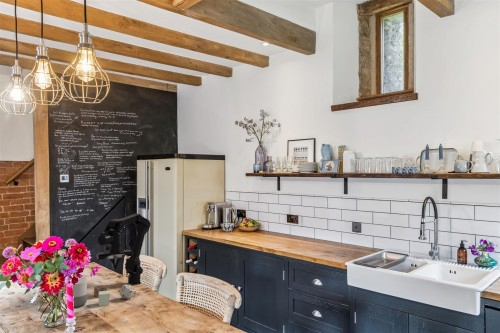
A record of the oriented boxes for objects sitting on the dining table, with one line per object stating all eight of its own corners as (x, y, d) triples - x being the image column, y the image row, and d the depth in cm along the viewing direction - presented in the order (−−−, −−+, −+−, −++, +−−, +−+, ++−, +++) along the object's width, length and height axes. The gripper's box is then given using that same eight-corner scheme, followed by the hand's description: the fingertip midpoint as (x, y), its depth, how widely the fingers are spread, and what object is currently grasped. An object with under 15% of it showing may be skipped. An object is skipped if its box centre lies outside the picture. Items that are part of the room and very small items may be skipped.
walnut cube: (102, 293, 214) (102, 284, 214) (107, 296, 211) (107, 286, 211) (94, 296, 211) (94, 286, 211) (98, 298, 207) (98, 288, 207)
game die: (129, 304, 208) (141, 288, 211) (123, 304, 200) (135, 287, 203) (117, 295, 211) (129, 279, 213) (111, 294, 203) (123, 277, 205)
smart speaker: (63, 308, 192) (63, 280, 192) (71, 302, 201) (72, 275, 201) (82, 308, 192) (83, 280, 192) (90, 302, 201) (90, 275, 201)
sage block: (108, 302, 202) (109, 290, 202) (109, 305, 197) (109, 293, 197) (98, 303, 200) (98, 291, 200) (98, 306, 195) (98, 294, 195)
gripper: (128, 238, 229) (127, 264, 229) (94, 241, 220) (94, 268, 220) (133, 241, 220) (132, 268, 220) (98, 244, 210) (98, 273, 210)
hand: (114, 269), depth 218 cm, fingers closed
